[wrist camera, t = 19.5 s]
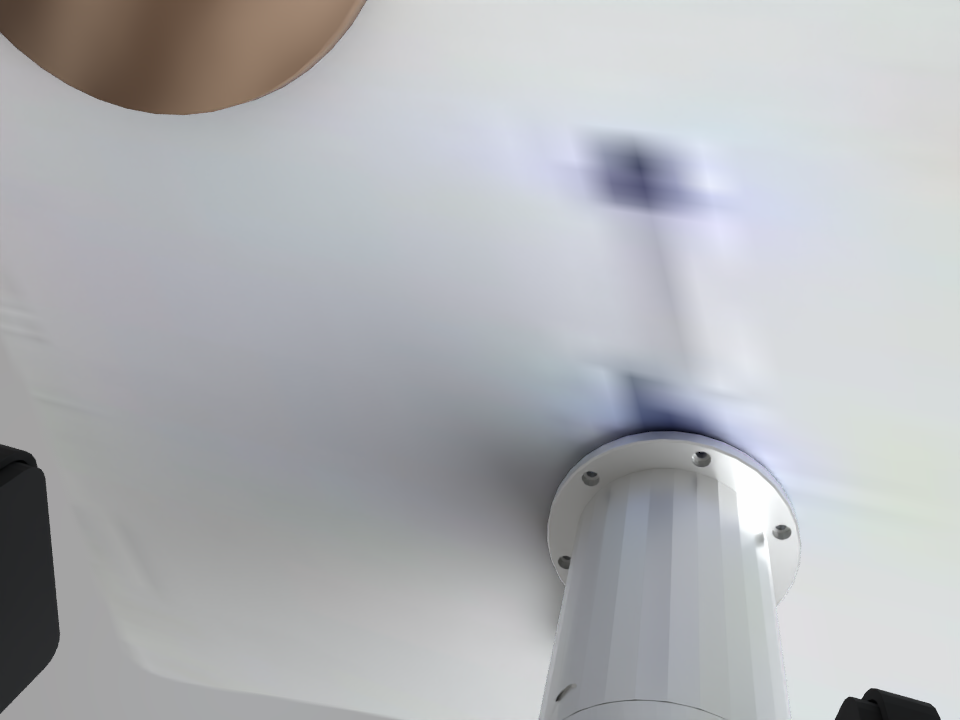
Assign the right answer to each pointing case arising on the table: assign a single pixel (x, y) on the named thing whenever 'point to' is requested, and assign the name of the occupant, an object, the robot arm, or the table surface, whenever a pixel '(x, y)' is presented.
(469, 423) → the table surface
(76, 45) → the turntable platter
